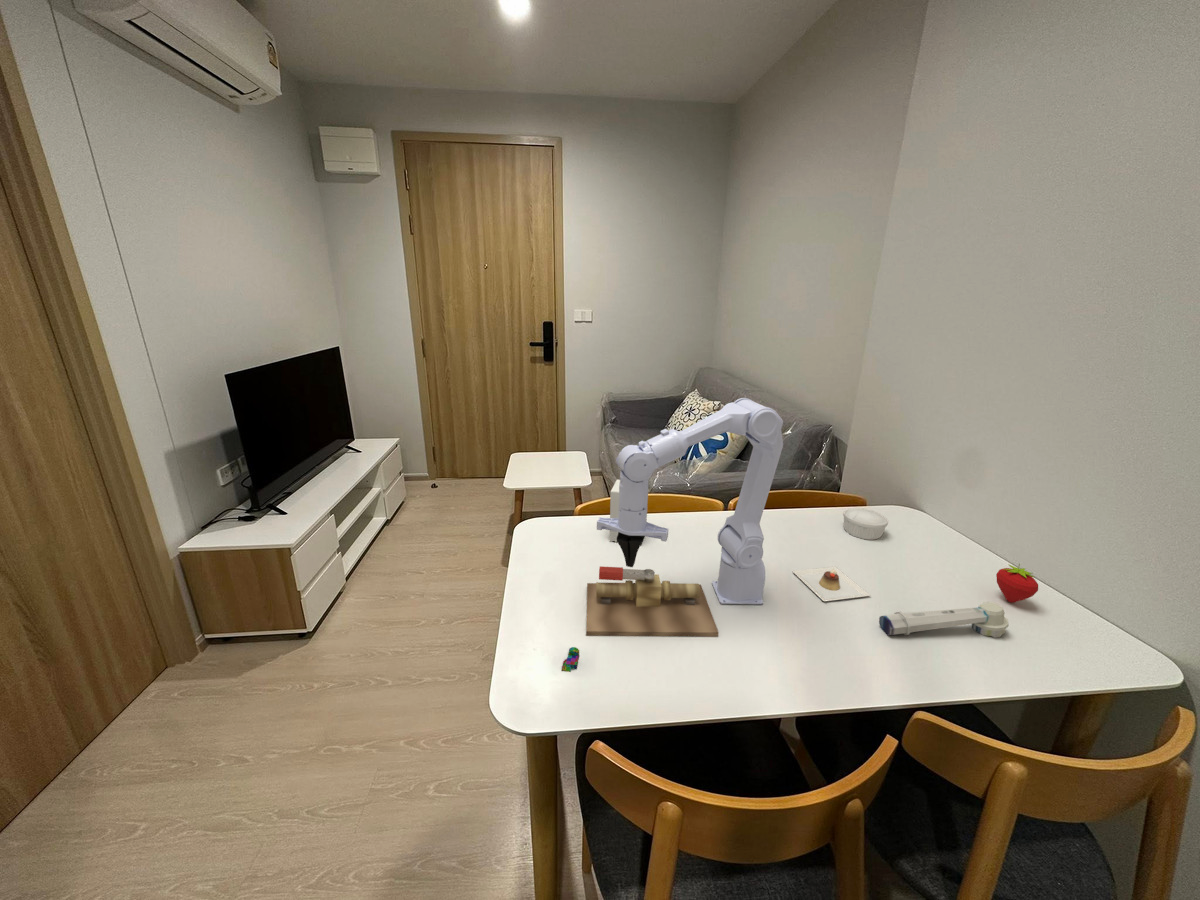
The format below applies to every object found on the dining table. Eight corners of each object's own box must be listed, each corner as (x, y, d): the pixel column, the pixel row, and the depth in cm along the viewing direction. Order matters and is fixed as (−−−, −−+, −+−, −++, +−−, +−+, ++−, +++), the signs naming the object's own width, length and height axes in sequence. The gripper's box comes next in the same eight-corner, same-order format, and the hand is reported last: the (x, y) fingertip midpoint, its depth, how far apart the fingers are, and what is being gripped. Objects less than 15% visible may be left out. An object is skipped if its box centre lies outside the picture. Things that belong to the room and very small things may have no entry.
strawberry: (1019, 615, 102) (1033, 575, 98) (982, 594, 108) (995, 556, 105) (1037, 610, 103) (1052, 570, 100) (1000, 590, 110) (1013, 552, 107)
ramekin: (835, 521, 142) (838, 506, 140) (874, 525, 140) (878, 509, 139) (848, 540, 131) (852, 523, 130) (891, 544, 130) (895, 526, 128)
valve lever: (653, 576, 101) (654, 568, 101) (654, 582, 99) (654, 574, 98) (599, 573, 102) (599, 565, 101) (598, 579, 99) (599, 572, 99)
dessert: (822, 605, 104) (826, 587, 102) (791, 574, 115) (794, 557, 114) (869, 599, 106) (874, 581, 105) (834, 570, 118) (838, 553, 116)
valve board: (700, 588, 108) (702, 565, 106) (718, 636, 93) (721, 611, 91) (587, 586, 108) (587, 564, 106) (586, 635, 92) (586, 609, 90)
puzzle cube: (564, 656, 88) (564, 646, 87) (579, 657, 87) (579, 647, 87) (559, 673, 84) (559, 663, 83) (575, 675, 83) (575, 664, 83)
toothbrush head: (877, 608, 97) (996, 592, 97) (875, 634, 99) (991, 619, 99) (894, 625, 92) (1019, 608, 92) (891, 652, 94) (1013, 636, 94)
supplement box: (646, 530, 134) (649, 481, 129) (641, 546, 125) (644, 494, 121) (614, 526, 136) (616, 478, 131) (608, 541, 127) (610, 490, 123)
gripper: (672, 502, 95) (668, 560, 100) (604, 492, 100) (603, 548, 104) (666, 517, 89) (662, 579, 93) (593, 506, 93) (592, 565, 98)
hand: (630, 564), depth 98 cm, fingers closed
